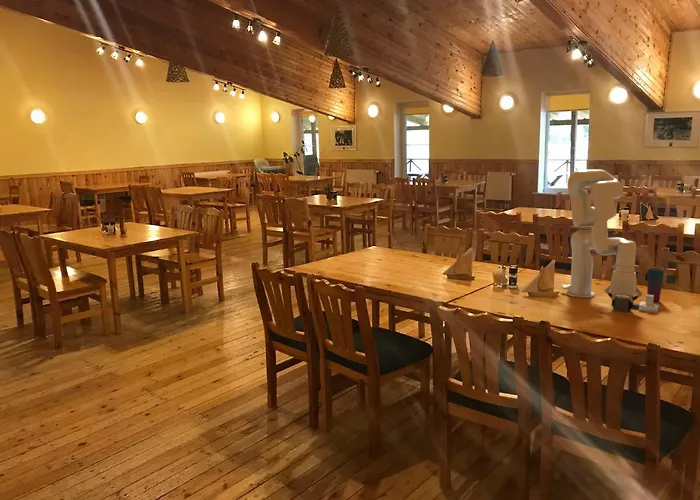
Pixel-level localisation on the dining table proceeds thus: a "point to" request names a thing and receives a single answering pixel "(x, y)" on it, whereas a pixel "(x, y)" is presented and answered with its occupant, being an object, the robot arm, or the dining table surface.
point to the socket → (621, 303)
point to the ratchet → (647, 305)
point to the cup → (655, 282)
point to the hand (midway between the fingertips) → (622, 308)
